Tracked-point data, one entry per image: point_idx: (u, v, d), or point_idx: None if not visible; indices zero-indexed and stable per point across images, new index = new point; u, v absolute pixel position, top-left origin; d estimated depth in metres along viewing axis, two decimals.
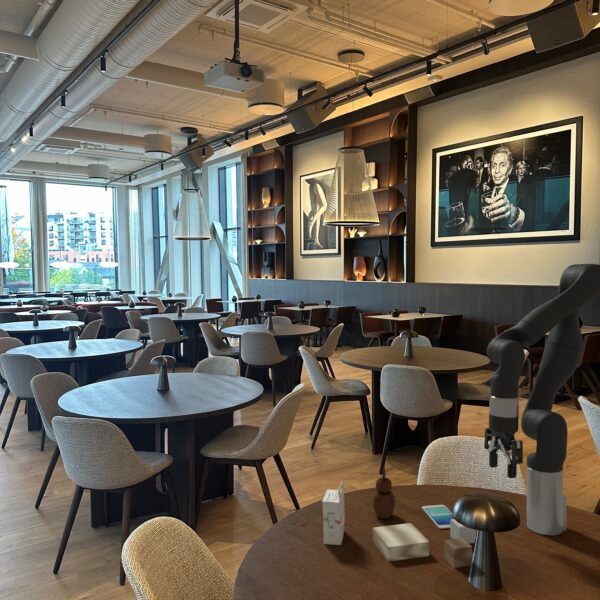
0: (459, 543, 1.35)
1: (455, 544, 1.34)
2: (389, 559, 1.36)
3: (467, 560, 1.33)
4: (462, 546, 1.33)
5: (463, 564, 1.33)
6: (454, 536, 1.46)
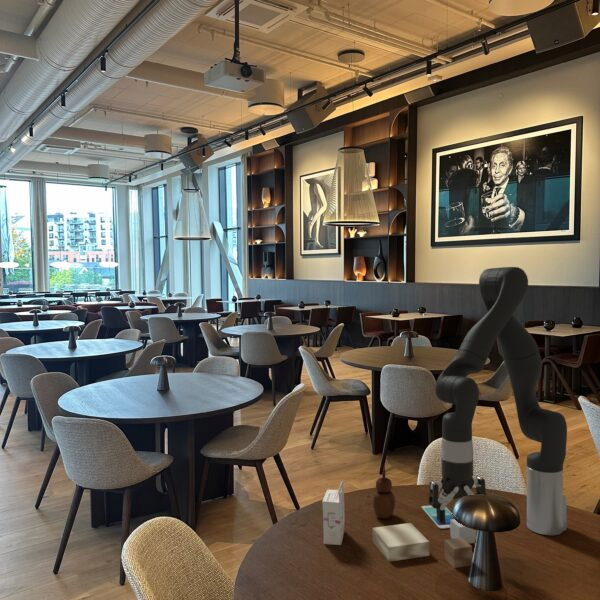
0: (459, 543, 1.35)
1: (455, 544, 1.34)
2: (389, 559, 1.36)
3: (467, 560, 1.33)
4: (462, 546, 1.33)
5: (463, 564, 1.33)
6: (454, 536, 1.46)
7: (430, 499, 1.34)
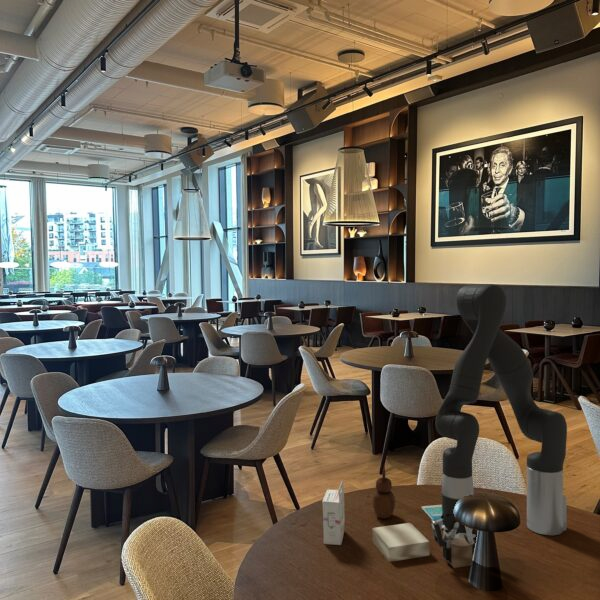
0: (459, 542, 1.35)
1: (455, 544, 1.34)
2: (390, 559, 1.36)
3: (467, 560, 1.33)
4: (462, 546, 1.33)
5: (463, 564, 1.33)
6: None
7: (435, 537, 1.34)
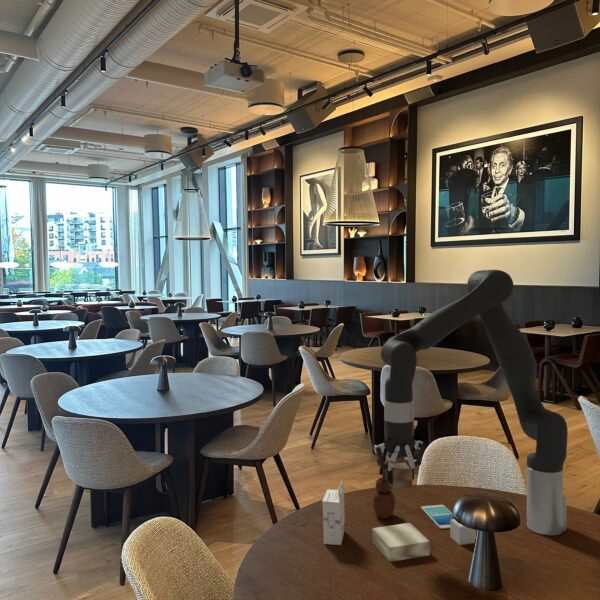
0: (401, 466, 1.41)
1: (396, 467, 1.41)
2: (390, 559, 1.36)
3: (408, 482, 1.39)
4: (403, 469, 1.39)
5: (404, 485, 1.39)
6: (454, 536, 1.46)
7: (378, 461, 1.41)
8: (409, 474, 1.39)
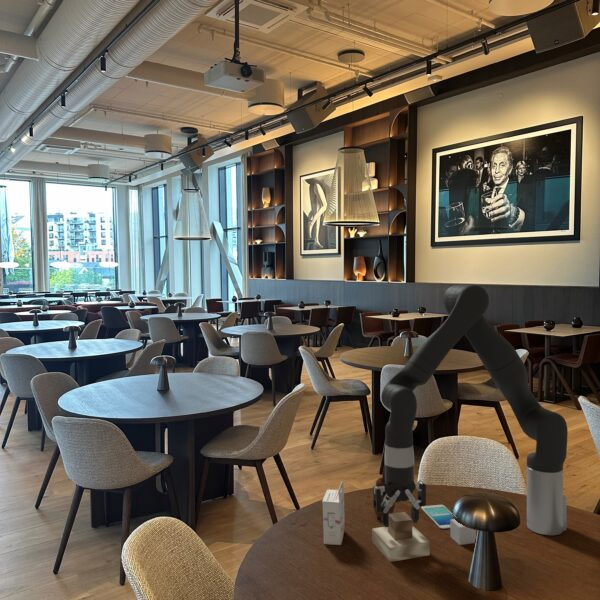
0: (401, 516, 1.42)
1: (397, 518, 1.41)
2: (391, 560, 1.35)
3: (408, 532, 1.40)
4: (403, 519, 1.40)
5: (404, 536, 1.40)
6: (454, 536, 1.46)
7: (374, 503, 1.41)
8: (409, 525, 1.40)
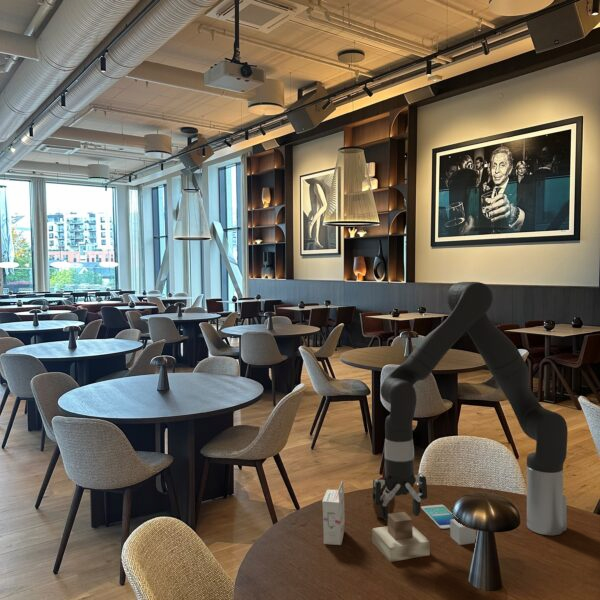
0: (401, 516, 1.42)
1: (397, 518, 1.41)
2: (391, 559, 1.36)
3: (408, 532, 1.40)
4: (403, 519, 1.40)
5: (404, 536, 1.40)
6: (454, 536, 1.46)
7: (374, 496, 1.41)
8: (409, 525, 1.40)
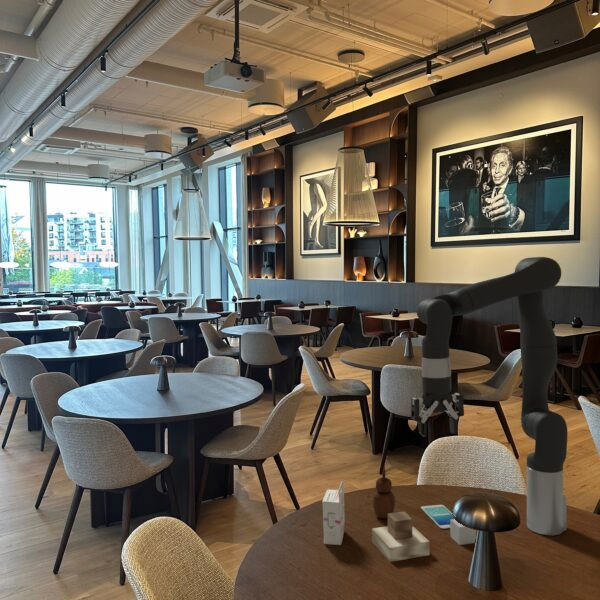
0: (401, 516, 1.42)
1: (397, 517, 1.41)
2: (390, 560, 1.36)
3: (408, 532, 1.40)
4: (403, 519, 1.40)
5: (404, 536, 1.40)
6: (454, 536, 1.46)
7: (412, 414, 1.44)
8: (409, 524, 1.40)
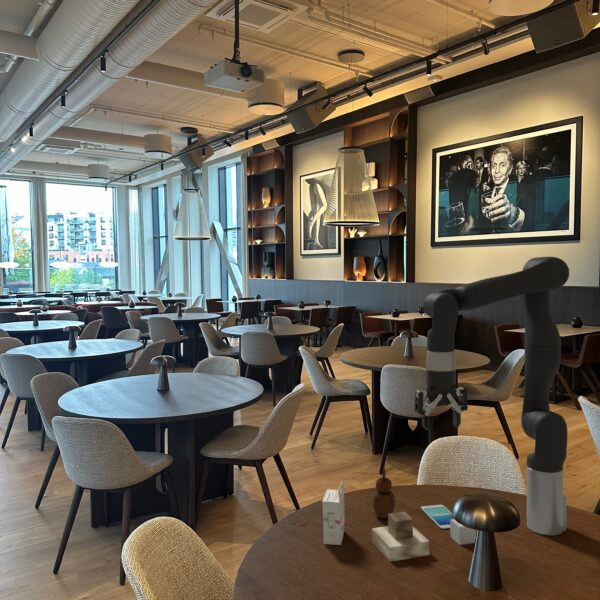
0: (401, 516, 1.42)
1: (397, 517, 1.41)
2: (390, 559, 1.36)
3: (408, 532, 1.40)
4: (403, 519, 1.40)
5: (404, 536, 1.40)
6: (454, 536, 1.46)
7: (416, 407, 1.45)
8: (410, 524, 1.40)
